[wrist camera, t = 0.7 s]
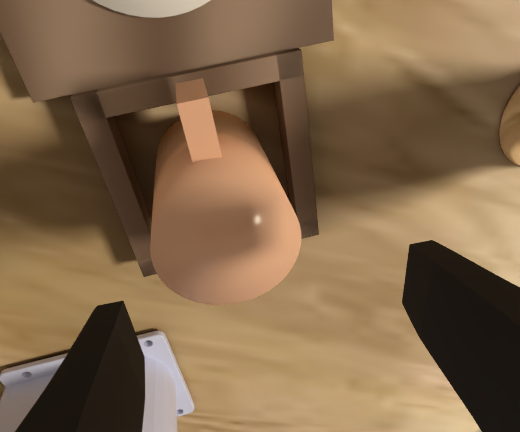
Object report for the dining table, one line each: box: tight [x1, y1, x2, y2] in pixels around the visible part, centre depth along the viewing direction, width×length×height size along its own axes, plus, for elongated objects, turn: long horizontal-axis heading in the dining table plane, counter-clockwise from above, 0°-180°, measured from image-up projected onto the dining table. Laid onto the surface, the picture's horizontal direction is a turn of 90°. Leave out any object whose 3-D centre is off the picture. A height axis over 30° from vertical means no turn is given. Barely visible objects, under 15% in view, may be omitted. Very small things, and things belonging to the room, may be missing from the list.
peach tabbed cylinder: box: [150, 78, 301, 305], centre depth 16 cm, size 5×7×7 cm
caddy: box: [0, 0, 334, 277], centre depth 16 cm, size 12×21×2 cm, turn 9°
